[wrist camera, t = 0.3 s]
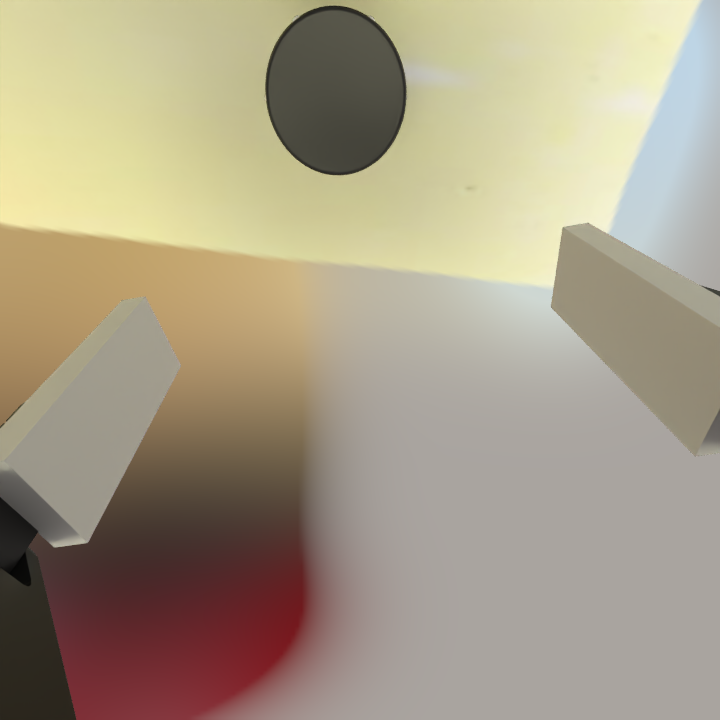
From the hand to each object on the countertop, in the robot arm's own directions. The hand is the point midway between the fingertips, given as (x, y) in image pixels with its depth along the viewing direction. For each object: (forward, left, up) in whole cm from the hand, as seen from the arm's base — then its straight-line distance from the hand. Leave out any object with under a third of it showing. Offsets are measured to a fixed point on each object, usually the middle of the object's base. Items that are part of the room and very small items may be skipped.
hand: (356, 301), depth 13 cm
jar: (-5, +1, -28) cm, 28 cm away
